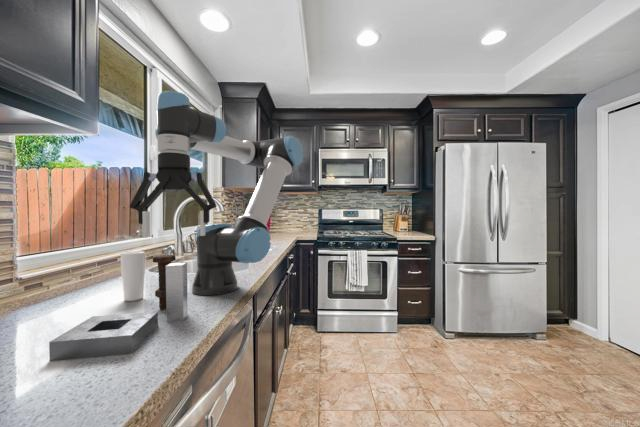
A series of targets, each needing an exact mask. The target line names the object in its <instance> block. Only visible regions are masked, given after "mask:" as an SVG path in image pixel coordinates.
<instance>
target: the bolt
mask: <svg viewBox="0 0 640 427" xmlns="http://www.w3.org/2000/svg"><path fill="white" fill-rule="evenodd" d="M175 261H176V255H174V254H161V255H160V254H159V255H155V256H154V257H153V258H152V262H153V263H157V269H158V288H157V289H156V290H155V291H154V295H155V297H156V298H158V308H159V309H160V310H166V265H168V264H170V263H172V262H175Z"/></svg>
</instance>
